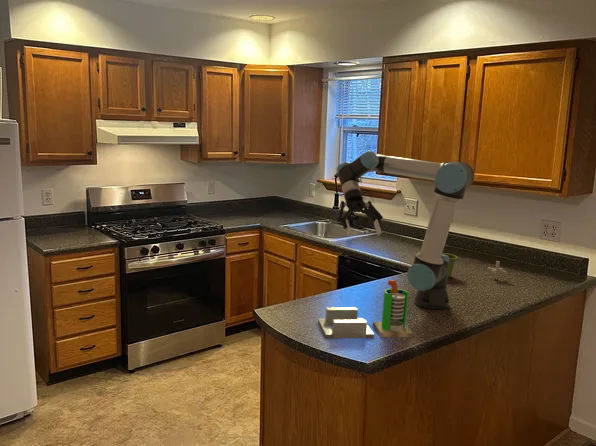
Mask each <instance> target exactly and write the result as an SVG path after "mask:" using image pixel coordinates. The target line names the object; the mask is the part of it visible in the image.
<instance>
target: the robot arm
mask: <svg viewBox="0 0 596 446" xmlns="http://www.w3.org/2000/svg"><path fill="white" fill-rule="evenodd" d="M336 172H337V173H336V174H337V178H338V181H339V183H340V187H341V191H342V193H343V198H344V200H345V201H344V200H341V201H340V203H339V212H338V215H337V218H336V222H337V223H339V222H340V224H341V225H342V227H343V229H344V230H345V232H346V235H347V237H350V236H351V235H352V229H351V225H350V222H349V219H348V217H349V216H350V214H351V212H353V213H361V214H364V215H365V216H367V217H368V218H369V219H371V220H372V221H373V225H374V229H375V232H376V235H377V237H379V236H380V235H381V234H382V228H381V227H382V224H381V222H382V220H383V218H384V216H383V215H382V214H381V213H380V212H379V211H378V210H377V209H376V208H375V206H374V205H373V204H372V202H371V201H370V200H368V201H367V202H365V201H364V197H363V194H362V191H361V188H360V185H359V182H358V179H360V178H361V177H363V176H365V175H366V174H367V173H371V172H372V173H374V172H377V173H385V174H392V175H399V176H404V177H410V178H417V179H425V180H431V181H434V182H435V186H434V190H433V194H434V195H435V200H434V204H433V206H432V207H433V208H432V210H431V214H430V217H429V221H428V225H427V227H426V232H425V234H424V239H423V241H422V245H421V249H420V251H419V252H417V253H415V256H414V259H413V262H412V265H410V267H408V270H407V273H406V278H407V281H408V283H409V285H410V286H411V287H412V288H414V289H415V290H416V293H415V296H414V299H413V300H414V301H413V302H414V304H415V305H416V306H419V307H421V308H425V309H429V310H445V309H447V308H449V307H450V299H449V298H450V297H449V294H448V289H447V285H448V279H449V278H448V268H449V257H448V256H447V255H444V254H442V253H443V252H444V248H445V245H446V241H447V240H448V234H449V232H450V228H451V225H452V222H453V219H454V215H455V213H456V209H457V205H458V203H459V202H461V201H462V200H463V199H464V197H465V193H466V190H467V188H469V187H471V185H472V184H473V182H474V180H475V172H474V169H473V167H472V165H470V164H469V163H467V162H464V161H444V162H436V161H435V162H433V161H427V160H419V159H412V158H404V157H398V156H391V155H389V156H388V155H384V154H379V153H378V154H376V153H375V152H374V151H372V150H367V151H366V152H364V153H361V155H360V156H358V157H357V158H356V159H354V160H353V161H352V162H348V161H344V162H341V163H339V164H338V165H337V167H336ZM346 207H347V208H348V210H347V211H346V213H345V214H344V209H345V208H346ZM343 214H344V216H343Z"/></svg>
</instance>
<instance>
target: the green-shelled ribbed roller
mask: <svg viewBox="0 0 596 446" xmlns="http://www.w3.org/2000/svg"><path fill="white" fill-rule="evenodd" d="M387 282H388V283H387V285H388V286H390V287H391V288H386V289H385V290H384V294H383V307H382V315H381V317H382V319H381V322H382V328H383V329H384V330H387V331H389V330H391V331H401V330H403V327H405V325H406V320H407V309H408V300H409V291H407V290H405V289H401V288H398V284H397V281H396V280H394V279H389V280H388V281H387Z"/></svg>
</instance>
